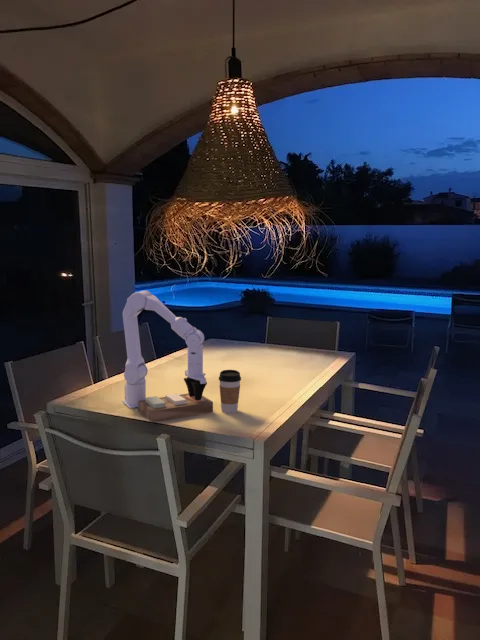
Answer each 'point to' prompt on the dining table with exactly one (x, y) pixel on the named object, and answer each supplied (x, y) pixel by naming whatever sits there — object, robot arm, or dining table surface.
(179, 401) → the cream button
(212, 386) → the dining table surface
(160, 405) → the sage button
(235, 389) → the coffee cup
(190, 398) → the terracotta button
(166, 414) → the button board
